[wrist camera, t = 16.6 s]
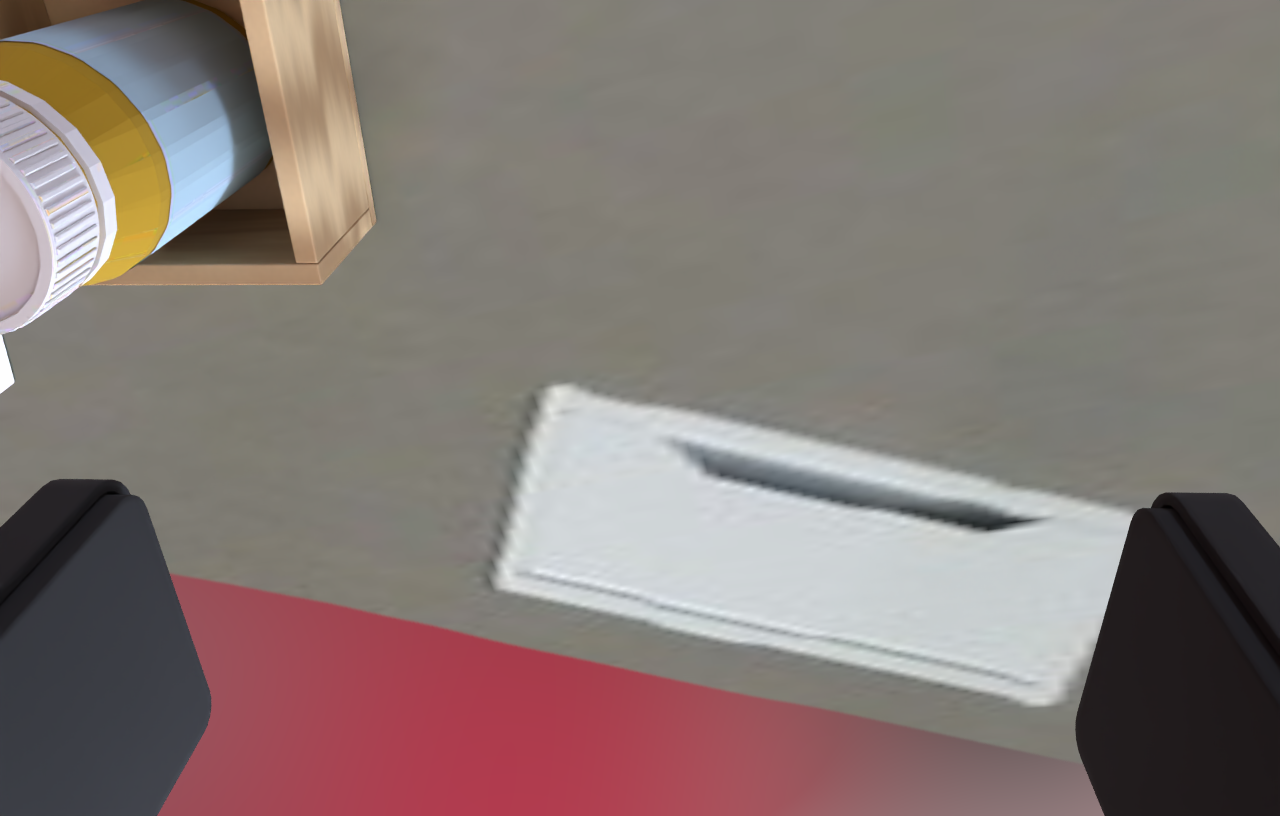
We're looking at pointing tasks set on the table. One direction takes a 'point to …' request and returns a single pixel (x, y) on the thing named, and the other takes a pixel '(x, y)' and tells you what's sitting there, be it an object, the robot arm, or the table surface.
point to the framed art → (4, 368)
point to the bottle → (117, 143)
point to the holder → (300, 142)
